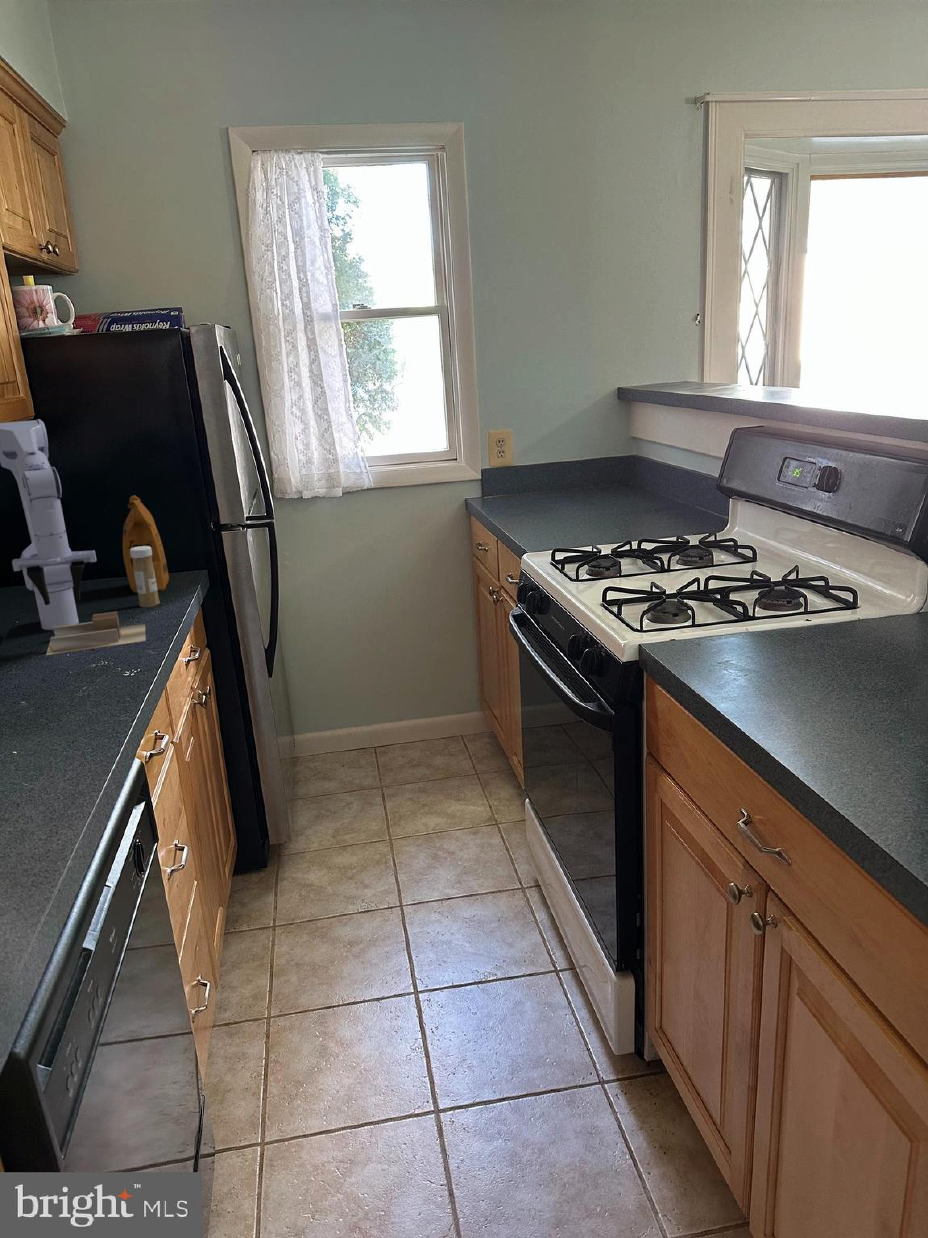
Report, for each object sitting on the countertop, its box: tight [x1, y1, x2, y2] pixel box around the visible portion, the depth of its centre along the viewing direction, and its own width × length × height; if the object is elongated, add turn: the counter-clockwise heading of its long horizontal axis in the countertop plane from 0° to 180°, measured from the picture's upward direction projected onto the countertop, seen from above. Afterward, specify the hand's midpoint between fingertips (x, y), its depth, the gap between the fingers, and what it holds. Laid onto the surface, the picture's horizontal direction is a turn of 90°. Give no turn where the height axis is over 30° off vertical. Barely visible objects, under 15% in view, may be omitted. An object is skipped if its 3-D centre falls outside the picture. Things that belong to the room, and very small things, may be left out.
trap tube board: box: [45, 621, 147, 656], centre depth 176 cm, size 12×18×4 cm, turn 110°
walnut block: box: [91, 611, 121, 639], centre depth 176 cm, size 4×4×4 cm
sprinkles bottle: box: [130, 546, 161, 608], centre depth 200 cm, size 5×5×14 cm
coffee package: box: [122, 495, 170, 594], centre depth 215 cm, size 10×12×22 cm
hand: (62, 601), depth 172 cm, fingers open, 5 cm apart
